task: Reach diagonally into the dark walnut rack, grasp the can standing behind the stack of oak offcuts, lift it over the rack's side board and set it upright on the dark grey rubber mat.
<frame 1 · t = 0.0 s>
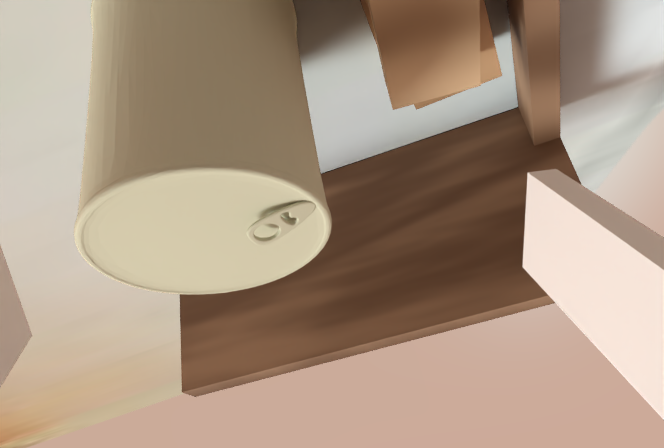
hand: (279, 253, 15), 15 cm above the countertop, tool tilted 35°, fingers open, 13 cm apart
can: (197, 25, 27), on the countertop
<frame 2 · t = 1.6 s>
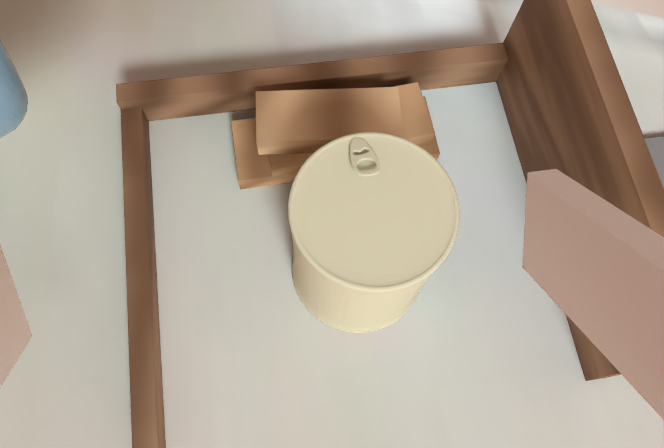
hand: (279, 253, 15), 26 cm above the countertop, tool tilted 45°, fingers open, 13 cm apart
offcut stack: (334, 148, 45), on the countertop
rack: (346, 210, 43), on the countertop
can: (356, 269, 41), on the countertop
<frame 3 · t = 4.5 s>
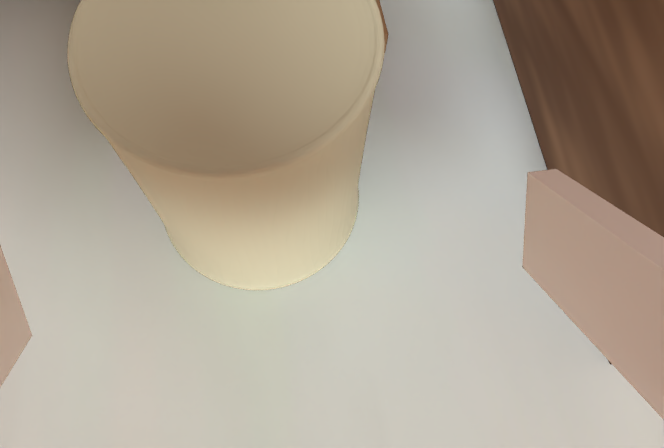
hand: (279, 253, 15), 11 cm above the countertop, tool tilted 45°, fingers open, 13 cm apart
rack: (251, 114, 29), on the countertop
can: (261, 198, 28), on the countertop
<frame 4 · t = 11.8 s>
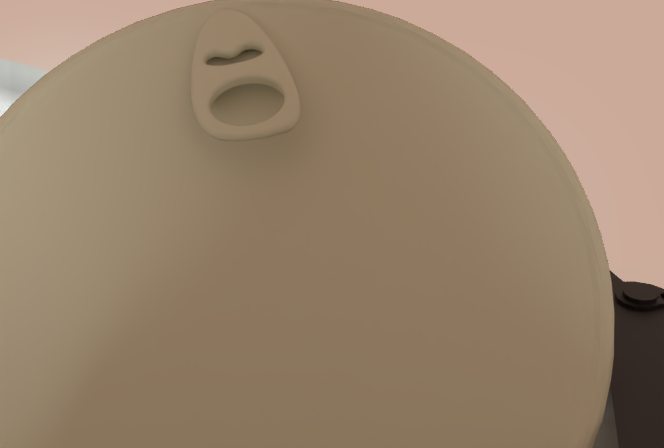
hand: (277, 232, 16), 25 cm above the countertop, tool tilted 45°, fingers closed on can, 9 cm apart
can: (296, 375, 18), point 21 cm above the countertop, touching gripper
when the fingers open (6 cm above the countertop, at t = 16.1 s): can drops 1 cm, resting on mat.
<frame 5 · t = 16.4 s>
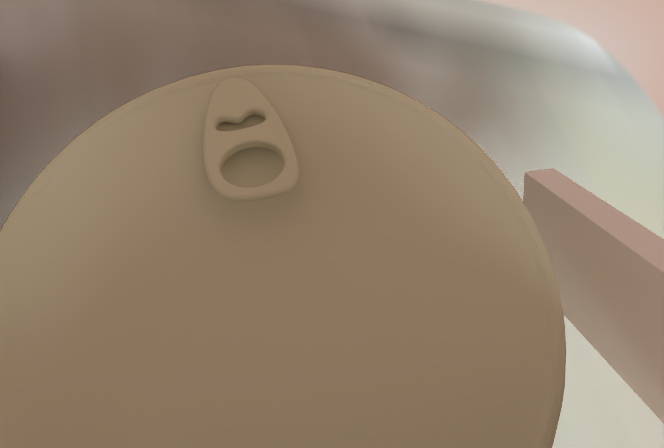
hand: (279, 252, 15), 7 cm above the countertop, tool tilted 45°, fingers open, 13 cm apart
can: (293, 387, 20), resting on mat
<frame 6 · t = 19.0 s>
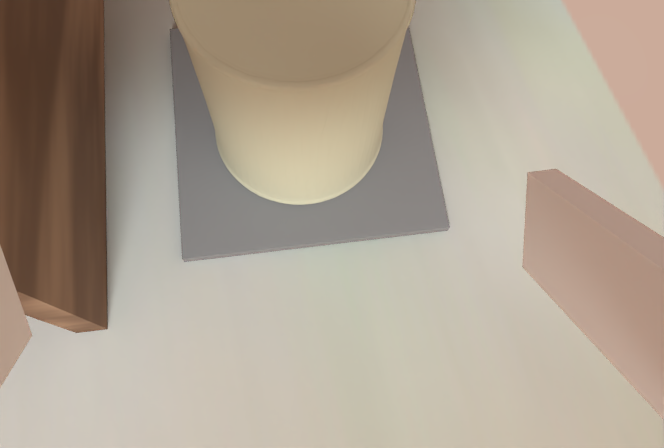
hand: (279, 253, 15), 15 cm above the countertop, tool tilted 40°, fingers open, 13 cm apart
can: (299, 129, 32), resting on mat
mat: (302, 128, 33), on the countertop
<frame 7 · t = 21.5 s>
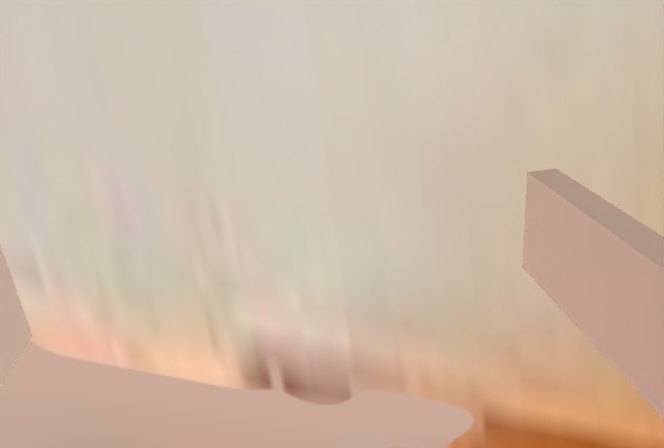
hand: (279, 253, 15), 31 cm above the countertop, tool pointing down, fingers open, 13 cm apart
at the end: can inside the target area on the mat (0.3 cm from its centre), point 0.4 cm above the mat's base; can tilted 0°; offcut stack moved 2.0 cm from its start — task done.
